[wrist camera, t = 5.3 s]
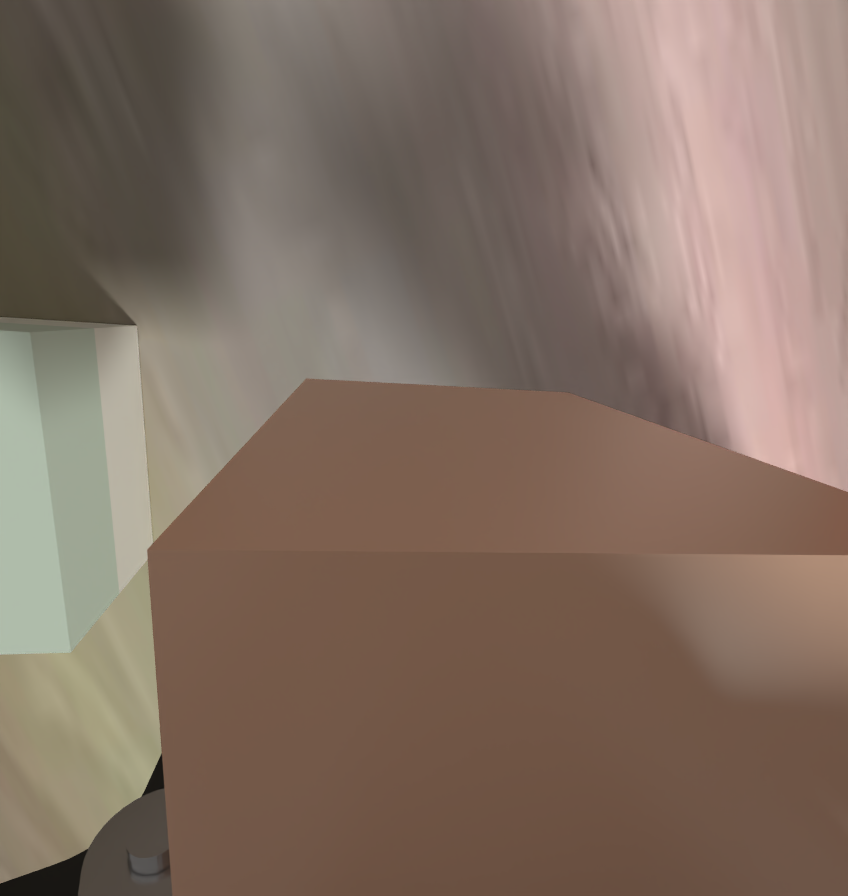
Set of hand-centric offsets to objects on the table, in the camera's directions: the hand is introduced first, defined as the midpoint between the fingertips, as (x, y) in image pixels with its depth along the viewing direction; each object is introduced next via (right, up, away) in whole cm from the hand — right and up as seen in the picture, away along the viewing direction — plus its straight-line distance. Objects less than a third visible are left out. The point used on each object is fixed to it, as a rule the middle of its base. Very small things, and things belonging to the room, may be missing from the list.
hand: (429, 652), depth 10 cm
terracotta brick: (0, 0, +1) cm, 1 cm away
